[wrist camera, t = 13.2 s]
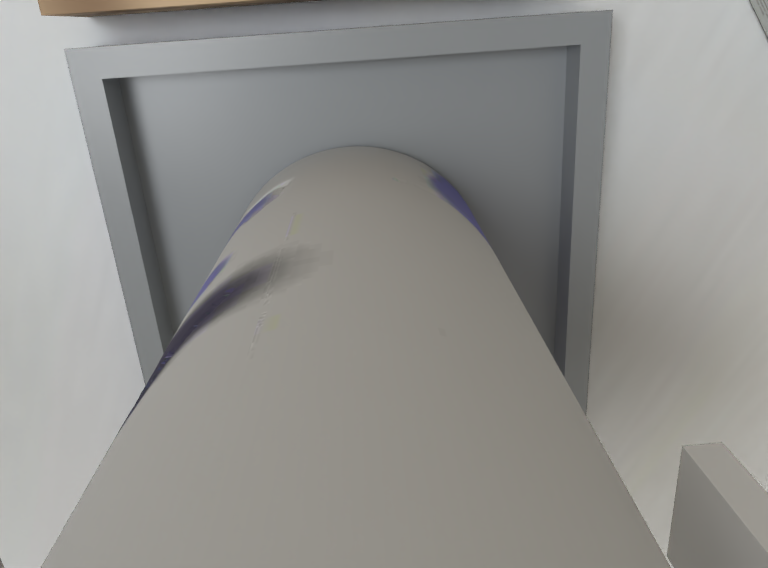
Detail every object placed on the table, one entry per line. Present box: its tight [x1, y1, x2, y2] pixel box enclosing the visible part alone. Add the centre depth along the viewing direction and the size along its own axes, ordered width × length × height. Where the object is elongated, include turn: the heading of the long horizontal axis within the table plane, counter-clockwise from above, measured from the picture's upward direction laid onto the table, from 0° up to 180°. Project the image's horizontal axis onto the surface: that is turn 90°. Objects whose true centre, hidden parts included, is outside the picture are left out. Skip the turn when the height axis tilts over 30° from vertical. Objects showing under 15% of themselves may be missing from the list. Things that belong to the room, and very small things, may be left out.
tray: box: [64, 10, 613, 415], centre depth 25 cm, size 18×18×2 cm
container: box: [41, 146, 671, 568], centre depth 16 cm, size 10×10×20 cm
